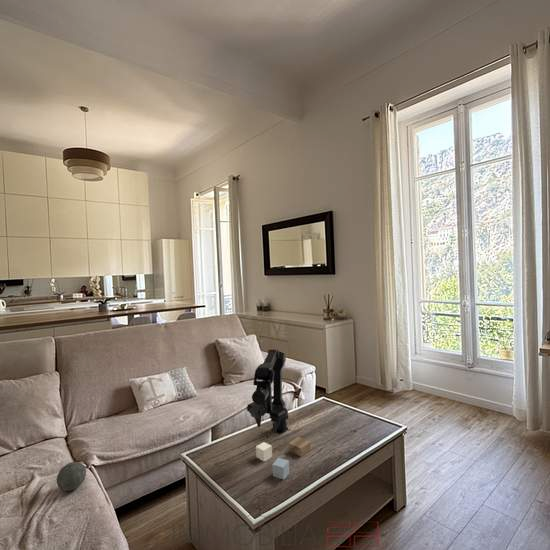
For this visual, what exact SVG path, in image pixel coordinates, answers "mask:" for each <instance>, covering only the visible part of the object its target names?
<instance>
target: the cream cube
mask: <svg viewBox="0 0 550 550" xmlns="http://www.w3.org/2000/svg"><path fill="white" fill-rule="evenodd" d="M255 455H256V458H257V459H258V458H259V460H261V461H262V462H264V461H265V462H266V461H267V460H269V459H271V458H272V457H273V446H272V445H271V444H269V443H268V442H265V441H263V442H261V443H259V444H258V445H256V446H255Z"/></svg>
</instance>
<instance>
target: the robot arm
mask: <svg viewBox="0 0 550 550" xmlns="http://www.w3.org/2000/svg"><path fill="white" fill-rule="evenodd" d="M286 360H287V357H286V355H285V353H284V352H282V351H280V350H279V349H275V348H274V349H272V348H271V349H270V348H269V349H268V351H267V355H266V357H265V359H264V361H263V363H261V364H259V365H258V366H257V367H256V369H255V371H254V377H253V386H256V388H255V390H254V391H253V393H252V395H251V399H252V402H251V403H248V404H247V406H246V411H247V412H248V413H249V414H250V417H252V418H254V420H255V423H256V425H257V427H258V428H260V427H261V425H262V417H264V416H265V415H266V414H268V415H269V418H270V421H271V422H272V427H271V431H272V432H273V434H275V433H278V434H282V433H284V432H286V431H287V430H289V427H288V426H287V425H288V424H287V420H288V419H290V418H289V417H290V416H289V410H288V409H287V407H286V402H285V401H284V399H283V377H282V376H283V373H282V372H283V368H284V367H285V365H286ZM272 388H273V389H272ZM272 390H273V394H272Z"/></svg>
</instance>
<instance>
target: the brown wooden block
mask: <svg viewBox="0 0 550 550" xmlns="http://www.w3.org/2000/svg"><path fill="white" fill-rule="evenodd" d="M311 448H312V447H311V441H309V440H307V439H305V438H302V437H300V436H297V437H296V438H294V439H293V440H291V441H289V442H288V451H289V452H290V453H292V454H294V455H297V456H299V457H303V456H305V455H306V454H307V453H308V452H310V451H311Z"/></svg>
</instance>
